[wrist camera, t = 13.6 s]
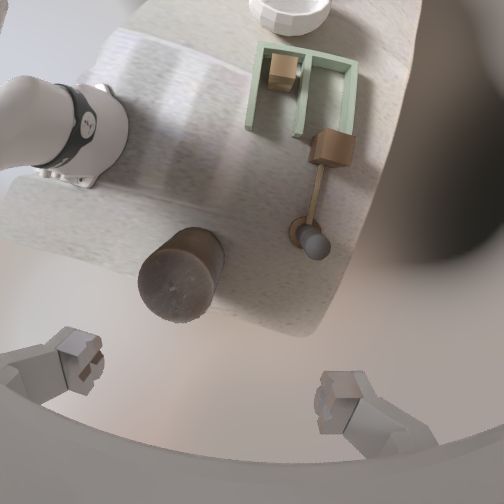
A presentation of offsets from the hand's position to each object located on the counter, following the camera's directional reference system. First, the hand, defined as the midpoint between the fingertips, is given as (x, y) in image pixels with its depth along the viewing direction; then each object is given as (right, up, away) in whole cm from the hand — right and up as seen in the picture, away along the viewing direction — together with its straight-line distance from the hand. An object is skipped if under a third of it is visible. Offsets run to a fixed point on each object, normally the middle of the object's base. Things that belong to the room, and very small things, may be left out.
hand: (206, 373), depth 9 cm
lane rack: (+9, +28, +31) cm, 43 cm away
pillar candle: (-8, +3, +38) cm, 39 cm away
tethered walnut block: (+11, +13, +35) cm, 39 cm away
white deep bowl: (+7, +43, +27) cm, 52 cm away
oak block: (+6, +31, +30) cm, 44 cm away
